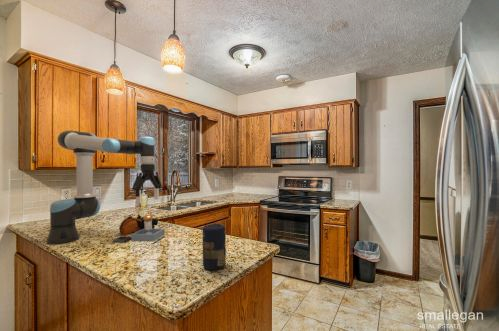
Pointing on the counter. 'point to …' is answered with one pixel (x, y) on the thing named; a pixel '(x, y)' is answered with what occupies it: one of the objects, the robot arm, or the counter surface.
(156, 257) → the counter surface
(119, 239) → the collar plate
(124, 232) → the tool
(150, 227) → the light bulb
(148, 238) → the bin
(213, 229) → the canister
